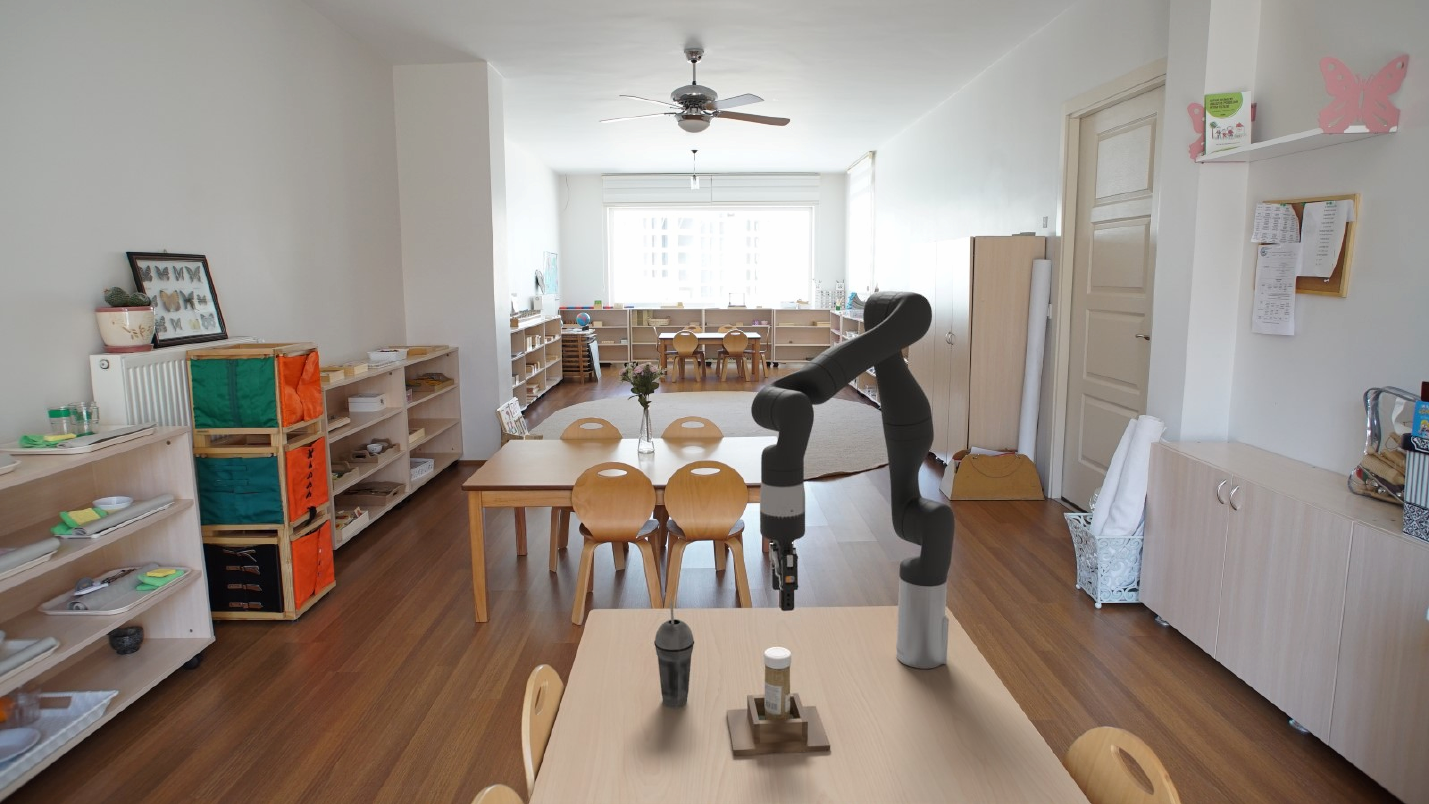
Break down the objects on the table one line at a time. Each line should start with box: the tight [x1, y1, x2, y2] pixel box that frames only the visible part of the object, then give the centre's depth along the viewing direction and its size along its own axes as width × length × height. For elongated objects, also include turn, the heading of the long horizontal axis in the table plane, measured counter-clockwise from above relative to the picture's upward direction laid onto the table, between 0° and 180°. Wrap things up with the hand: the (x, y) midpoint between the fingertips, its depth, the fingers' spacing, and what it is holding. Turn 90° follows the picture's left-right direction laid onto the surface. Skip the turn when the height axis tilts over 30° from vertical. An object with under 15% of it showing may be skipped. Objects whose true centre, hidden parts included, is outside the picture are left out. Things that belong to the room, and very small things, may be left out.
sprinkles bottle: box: [763, 646, 792, 720], centre depth 136 cm, size 5×5×13 cm
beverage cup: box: [653, 599, 695, 708], centre depth 146 cm, size 7×7×20 cm
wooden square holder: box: [726, 692, 831, 757], centre depth 137 cm, size 16×12×4 cm
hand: (782, 599), depth 136 cm, fingers open, 8 cm apart
